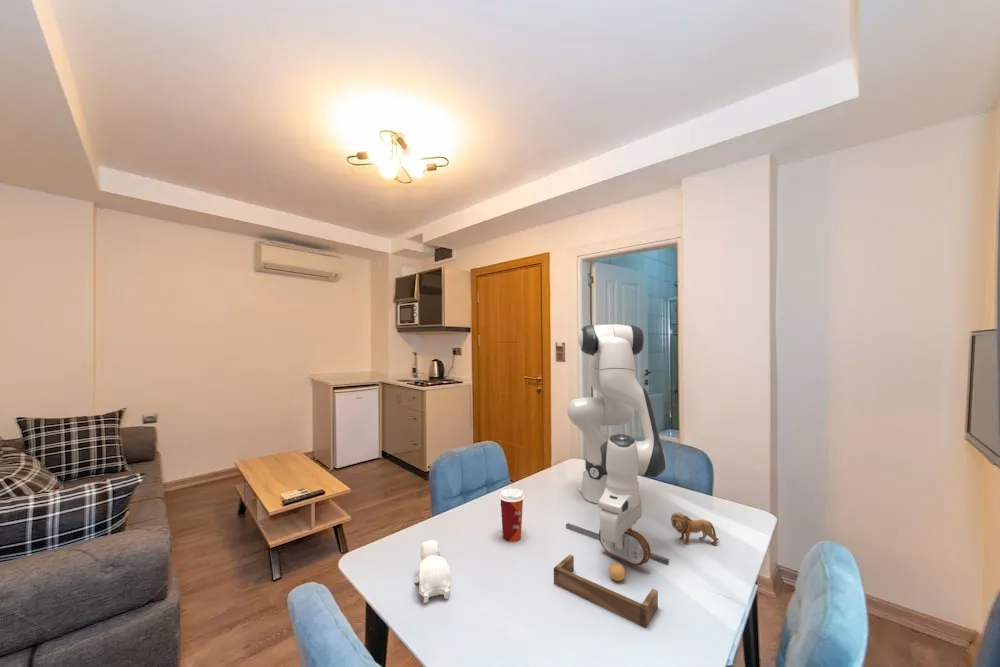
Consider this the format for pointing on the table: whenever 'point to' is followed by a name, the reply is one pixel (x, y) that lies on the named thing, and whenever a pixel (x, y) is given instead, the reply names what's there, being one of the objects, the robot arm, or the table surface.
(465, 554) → the table surface
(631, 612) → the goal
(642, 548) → the tin
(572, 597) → the table surface
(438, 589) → the white animal figurine
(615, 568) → the ball
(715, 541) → the lion figurine
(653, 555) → the rail
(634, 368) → the robot arm
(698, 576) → the table surface
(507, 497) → the paper cup
